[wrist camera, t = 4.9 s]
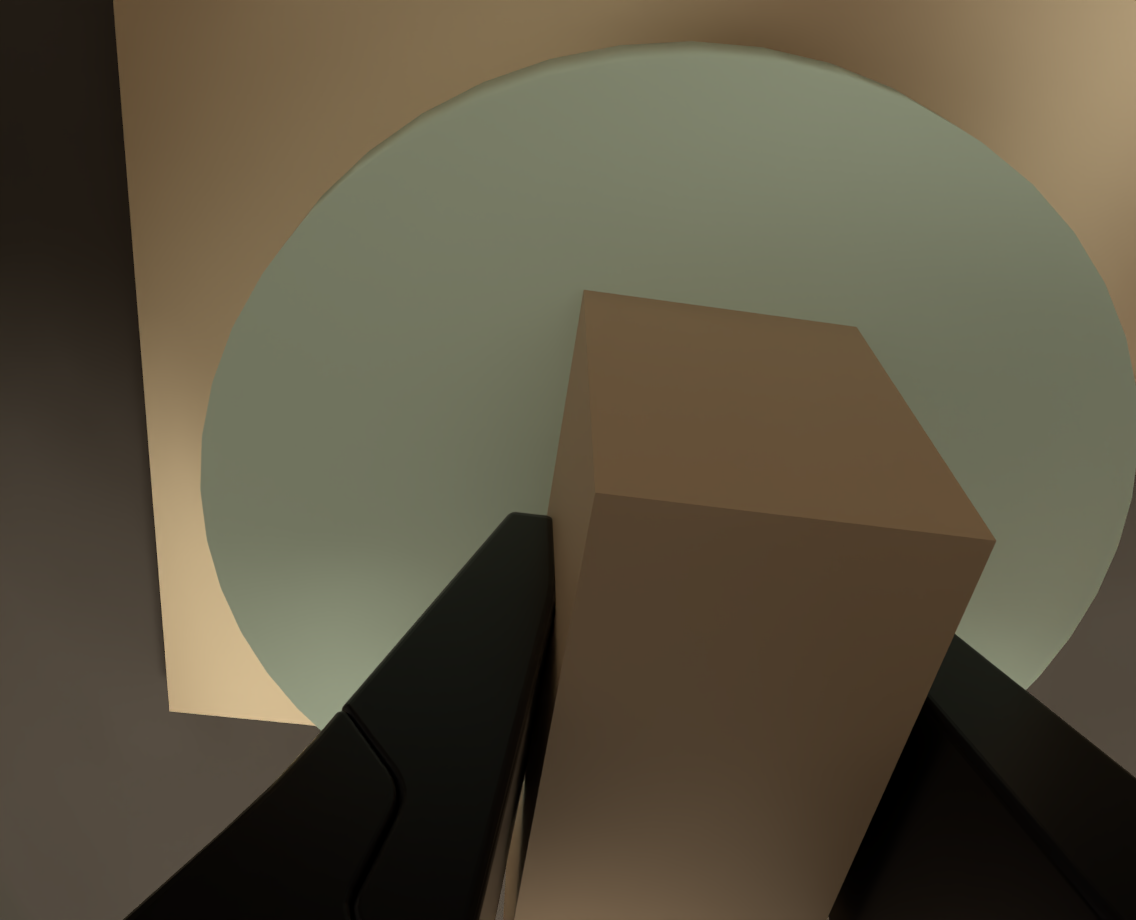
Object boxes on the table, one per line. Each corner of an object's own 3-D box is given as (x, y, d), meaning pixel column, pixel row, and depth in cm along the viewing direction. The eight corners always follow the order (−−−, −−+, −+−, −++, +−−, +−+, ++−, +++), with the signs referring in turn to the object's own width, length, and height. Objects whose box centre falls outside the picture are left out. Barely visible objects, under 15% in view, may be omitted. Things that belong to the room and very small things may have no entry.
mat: (1314, -59, 10) (1354, -54, 10) (929, 757, 16) (941, 786, 16) (116, -269, 9) (90, -278, 9) (182, 682, 15) (169, 711, 15)
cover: (1270, 127, 9) (1748, 298, 5) (928, 822, 13) (1059, 1162, 10) (207, -40, 8) (-70, 25, 4) (235, 757, 12) (110, 1097, 9)
